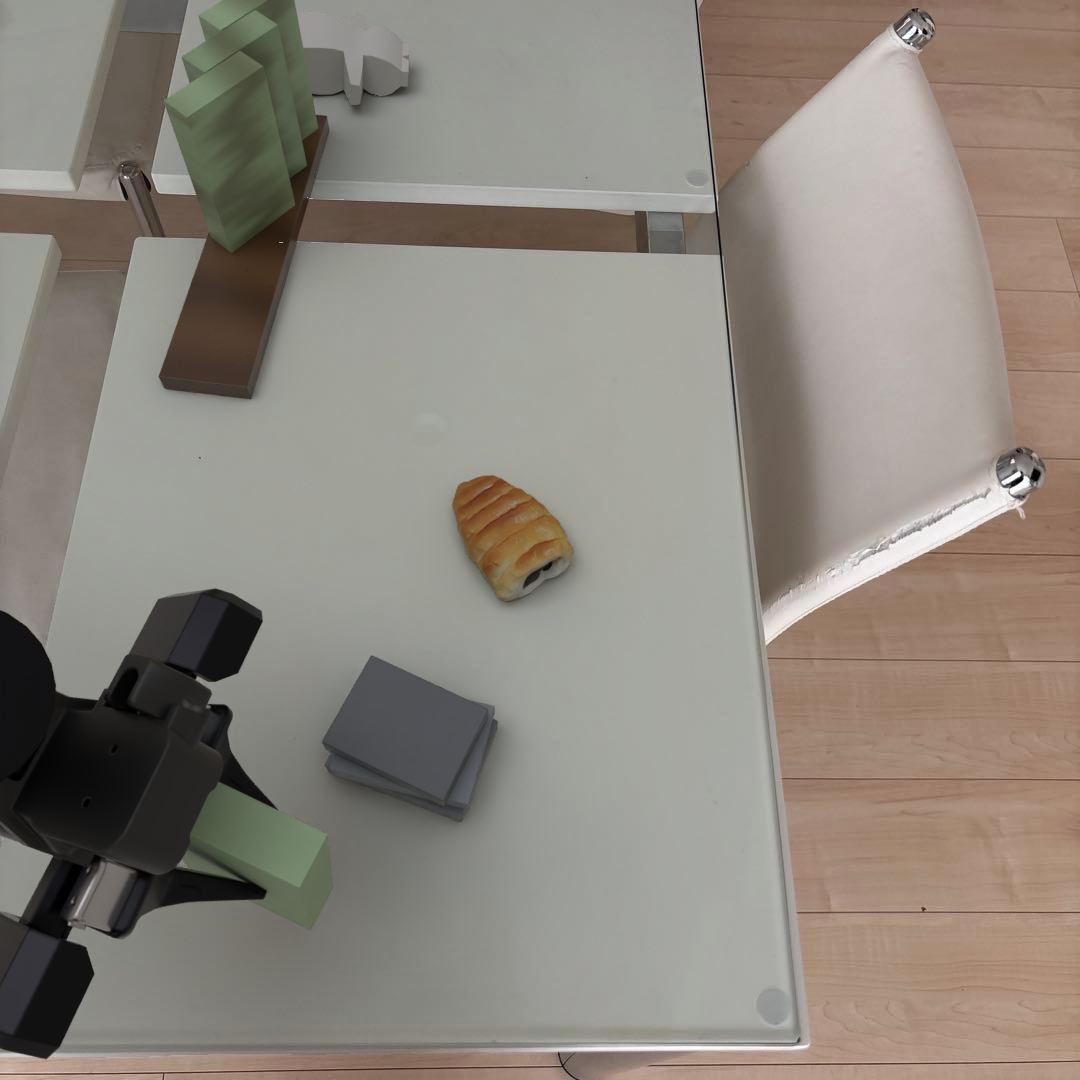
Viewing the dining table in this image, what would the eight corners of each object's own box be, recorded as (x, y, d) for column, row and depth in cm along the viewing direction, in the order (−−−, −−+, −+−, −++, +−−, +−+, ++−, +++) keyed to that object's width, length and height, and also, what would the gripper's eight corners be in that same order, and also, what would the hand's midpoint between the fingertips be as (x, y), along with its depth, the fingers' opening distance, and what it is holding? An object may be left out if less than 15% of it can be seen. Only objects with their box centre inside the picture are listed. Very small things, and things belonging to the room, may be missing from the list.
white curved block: (408, 78, 83) (227, 56, 80) (405, 126, 87) (234, 107, 85) (410, 6, 87) (239, -17, 84) (408, 56, 92) (244, 35, 89)
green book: (192, 873, 51) (148, 815, 40) (217, 831, 52) (181, 763, 41) (311, 931, 51) (299, 888, 39) (333, 887, 52) (328, 834, 41)
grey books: (325, 776, 60) (312, 757, 56) (371, 676, 63) (363, 649, 59) (463, 829, 59) (462, 814, 55) (503, 724, 62) (505, 701, 58)
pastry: (429, 514, 69) (426, 488, 65) (505, 468, 71) (506, 440, 68) (505, 614, 66) (507, 591, 62) (583, 562, 68) (588, 538, 64)
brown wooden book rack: (251, 399, 72) (200, 265, 59) (164, 388, 72) (94, 252, 59) (329, 129, 85) (302, -30, 72) (255, 120, 85) (214, -40, 72)
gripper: (-158, 1052, 27) (284, 1140, 36) (158, 494, 35) (453, 681, 44) (-225, 969, 34) (152, 1059, 43) (47, 528, 42) (317, 681, 52)
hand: (274, 862), depth 45 cm, fingers closed on green book, 3 cm apart
